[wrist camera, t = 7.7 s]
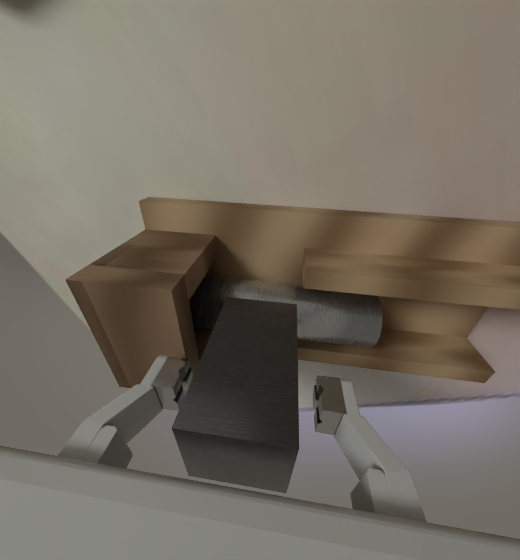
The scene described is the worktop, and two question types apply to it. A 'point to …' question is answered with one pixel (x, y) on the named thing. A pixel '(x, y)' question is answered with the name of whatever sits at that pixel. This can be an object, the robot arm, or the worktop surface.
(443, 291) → the cradle
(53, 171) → the worktop surface
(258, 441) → the grey mallet
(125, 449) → the robot arm
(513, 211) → the worktop surface
